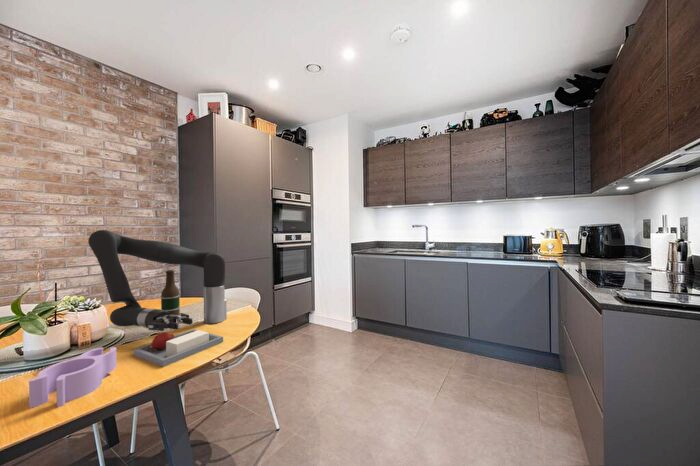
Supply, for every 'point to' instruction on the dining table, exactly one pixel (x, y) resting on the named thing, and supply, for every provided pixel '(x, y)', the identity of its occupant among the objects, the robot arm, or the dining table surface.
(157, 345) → the onion
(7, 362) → the dining table surface
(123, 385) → the dining table surface
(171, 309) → the beer bottle
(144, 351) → the tray
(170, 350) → the white box
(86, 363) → the clip
